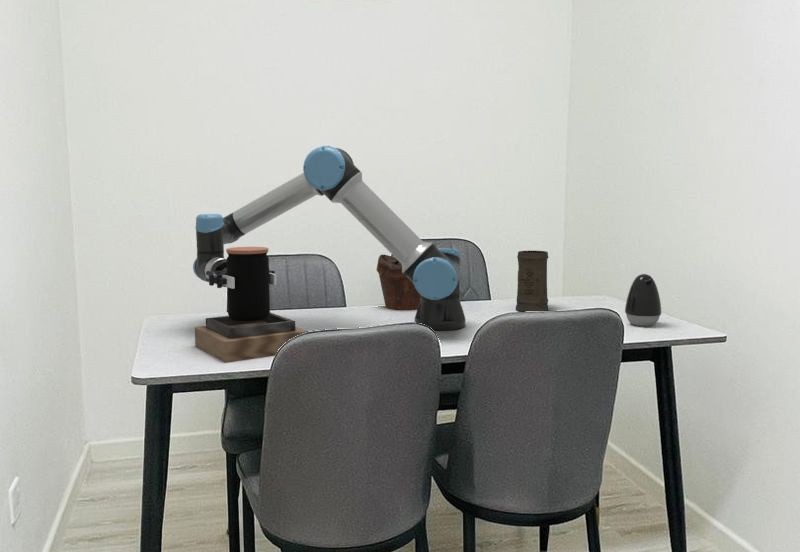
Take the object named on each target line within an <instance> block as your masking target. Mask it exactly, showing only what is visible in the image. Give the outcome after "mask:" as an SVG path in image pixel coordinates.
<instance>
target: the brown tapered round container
mask: <svg viewBox="0 0 800 552" xmlns="http://www.w3.org/2000/svg"><path fill="white" fill-rule="evenodd" d="M376 272H377V273H378V277H379V280H380V287H381V291H382V296H383V301H384V306H385V307H386V308H387V309H390V310H397V311H398V310H399V311H407V310H409V311H410V310H417V309H418V306H419V303H420V294H419V293H418V291H417V290H416V289H415V286H414V284H413V283H412V282H411V281H410V280H409V279H408V278H407V277H406V276H405V275H404V274H403V272H402V264H401V263H400V262H399V261H398V260H397V259H396V258H395V257H394V256H392V255H387V254H380V255H379V256H378V260H377V265H376Z"/></svg>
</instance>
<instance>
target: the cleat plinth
mask: <svg viewBox="0 0 800 552" xmlns="http://www.w3.org/2000/svg"><path fill="white" fill-rule="evenodd" d="M305 332H308V333H309V331H308V330H305V329H302V328H300V327H297V326H296V320H293V319H290V318H287V317H285V316H282V315H279V314H275V313H273V312H270V314H269V316H268V318H266V319H263V320H258V321H235V320H232V319H231V318H230V317H229V315H225V316H224V315H223V316H214V317H207V318H205V325H203V326H195V327H194V346H195V347H196V348H199V349H200V350H202V351H203V352H206V353H208V354H210V355H211V356H213V357H215V358H217V359H218V360H221V361H223V362H224V363H230V362H231V363H233V362H238V361H245V360H251V359H258V358H264V357H271V356H273V357H274V356H276V355H275V354H276V353H277V351H278V349H279V348H280V347H281V346H282V345H283V344H284V343H285V342H287V341H288V340H289V339H291V338H293V337H295V336H297V335H300V334H302V333H305Z"/></svg>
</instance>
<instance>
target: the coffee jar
mask: <svg viewBox="0 0 800 552" xmlns="http://www.w3.org/2000/svg"><path fill="white" fill-rule="evenodd" d="M225 252H226V253H227V255H228V256H227V257H226V259H227V260H226V262H227V276H231V277H234V279H235V288H233V289H231V288H228V287H226V290H227V291H226V293H227V316H229V317H230V318H231V319H232V320H235V321H258V320H263V319H266V318H268V316H269V314H270V313H271V306H270V305H271V304H270V303H271V302H270V301H271V298H270V284H269V271H270V263H269V261H270V260H269V259H270V258H269V256H268V253H269V248H268V247H266V246H265V247H264V246H235V247H234V246H233V247H228V248H226V251H225Z"/></svg>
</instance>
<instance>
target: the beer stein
mask: <svg viewBox="0 0 800 552" xmlns="http://www.w3.org/2000/svg"><path fill="white" fill-rule="evenodd" d="M516 258H517V264H518V265H517V266H518V270H517V290H516V291H517V293H516V300H515V301H516V304H515V305H516V306H515V311H517V312H521V313H525V311H547V312H548V311H549V305H548V303H549V298H548V259H549V252H548V251H545V250H520V251H518V252H517V256H516Z"/></svg>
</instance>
